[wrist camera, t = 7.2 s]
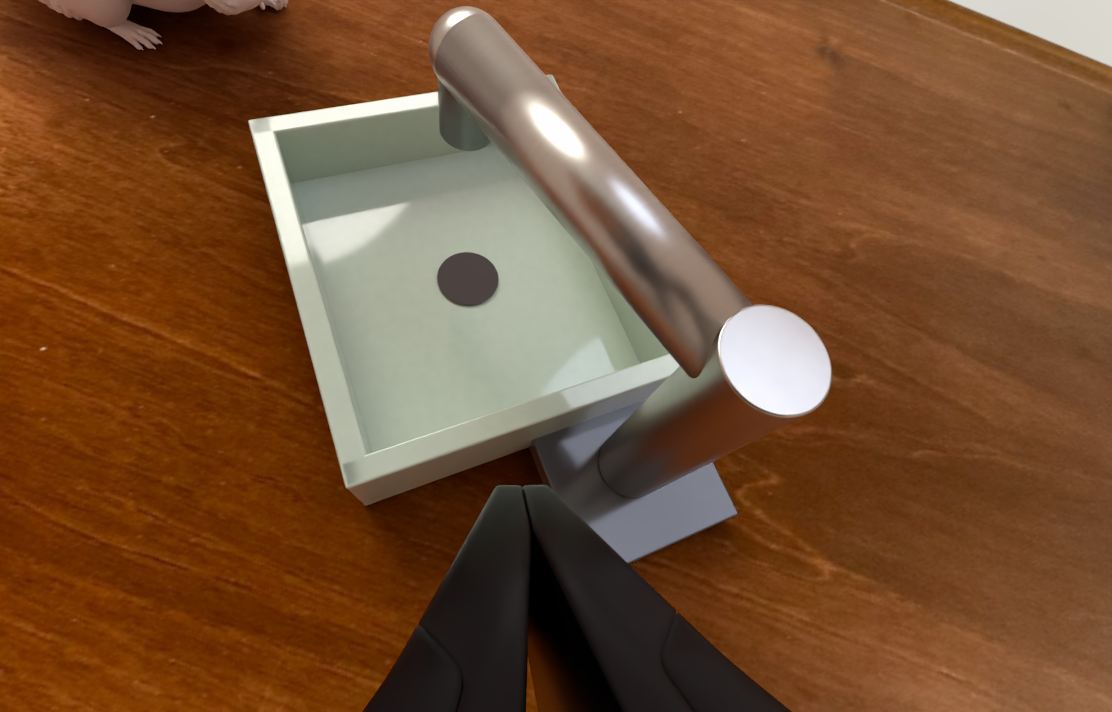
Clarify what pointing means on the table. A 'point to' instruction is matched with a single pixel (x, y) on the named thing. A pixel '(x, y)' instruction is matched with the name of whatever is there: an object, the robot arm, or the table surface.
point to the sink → (461, 319)
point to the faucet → (633, 265)
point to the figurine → (111, 5)
